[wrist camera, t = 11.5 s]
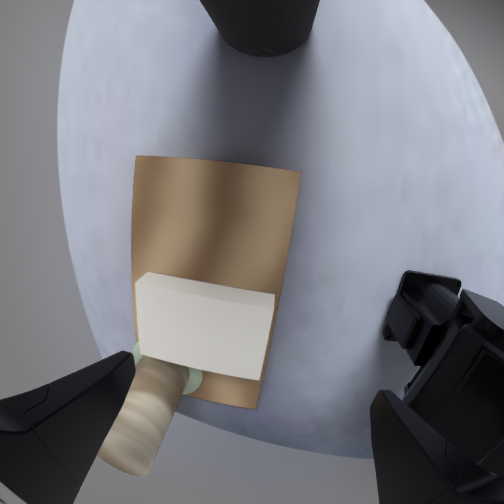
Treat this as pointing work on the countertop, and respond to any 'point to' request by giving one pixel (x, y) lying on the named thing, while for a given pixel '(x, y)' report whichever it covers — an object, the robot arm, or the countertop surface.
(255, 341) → the slab
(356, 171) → the countertop surface
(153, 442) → the roller
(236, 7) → the travel mug
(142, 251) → the wooden board
